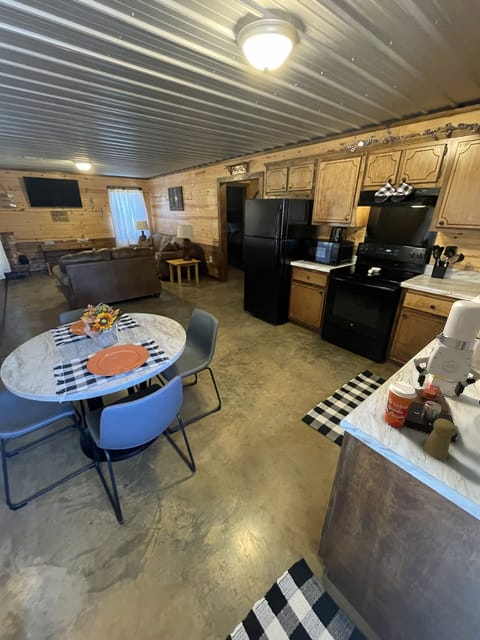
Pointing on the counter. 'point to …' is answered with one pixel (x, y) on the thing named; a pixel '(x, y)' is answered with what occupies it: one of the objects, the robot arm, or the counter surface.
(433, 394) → the button
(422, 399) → the button block
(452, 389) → the ink cartridge box
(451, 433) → the cork
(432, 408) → the knob
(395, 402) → the paper cup
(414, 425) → the panel
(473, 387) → the counter surface
